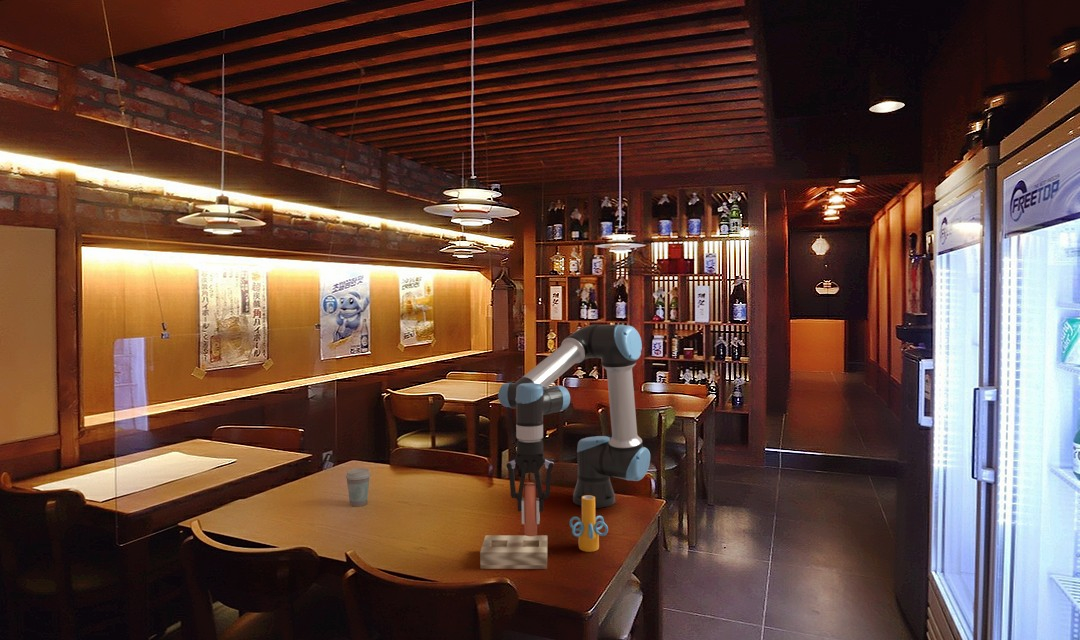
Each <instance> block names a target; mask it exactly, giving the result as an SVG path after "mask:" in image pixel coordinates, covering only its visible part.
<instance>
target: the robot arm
mask: <svg viewBox="0 0 1080 640" xmlns="http://www.w3.org/2000/svg"><path fill="white" fill-rule="evenodd" d="M642 349H643V345H642V338H641V336H640V333H639V331H638V330H637V329H636V328H635V327H634V326H632V325H625V324H596V323H595V324H589V325H587V326H585V327H581V328H580V329H578V330H576V331H574V332H572V333H570V334H569V336H567V337H566V338H564V339H563V340H562V342H561V344H560V346H559V347H558V348H556V349H555V350H554V351H553V352H552V353H551V354H549V355H548V356H546V357H545V358H544V359H543V360H542V361H540V362H539V363H538V364H536V366H534V367H533V368H532V369H531V370H529V371H528V372H527V373H525V374H524V375H523V376H522V377H521V378H519V379H518V380H516V381H515V382H505V383H503V384H502V385H501V386H500V388H499V390H498V393H497V395H498V401H499V403H500V405H501V406H503V407H505V408H510V409H516V410H515V416H516V421H515V422H516V424H515V427H516V428H515V430H516V432H515V437H516V439H517V440H516V442H515V443H516V445H515V446H516V456H515V458H514V459H512V460H508V461H507V462H506V468H507V471H508V476H509V488H510V498H512V499H515V500H516V501H517V511H518V512H521V525H525V512H524V497H523V495H524V484H525V481H526V476H527V475H526V474H529V473H531V474H533V475H534V479H535V483H536V486H537V500H536V516H537V525H540V521H541V518H540V512H543V511H544V500H545V499H550V495H551V493H550V492H551V481H552V480H551V479H552V477H551V476H552V471H553V469H554V461H553V460H551V461H550V460H547V459H546V457H545V455H544V440H543V438H544V415H545V416H546V415H550V414H554V413H559V412H560V413H561V412H562V411H565V410H566V409H568V407H569V405H570V403H571V394H570V392H569V390H568V388H566V387H565V386H563V385H553V386H550V385H552V384H553V383H555V381H556V380H557V379H559V378H560V377H562V375H563V374H565V372H567V371H569V369H570V368H572V366H574V365H575V364H580V363H582V362H583V361H584V360H587V359H601V367H603V369H605V371H606V377H607V379H606V380H607V389H608V390H607V391H608V401H609V403H608V404H609V413H610V414H609V415H610V425H611V437H609V436H606V435H596V436H588V437H585V438H581V439H580V440H579V441H577V449H576V453H577V456H576V457H577V481H576V485H575V487H574V490H573V493H572V501H573V503H574V504H575V505H577V506H580V507H582V496H586V495H591V496H594V497H595V509H596V508H597V509H599V508H606V507H611V506H612V505H614V504H615V503H616V495H615V491H614V488H613V485H612V482H611V477H612V478H617V479H621V480H626V481H628V482H629V481H633V482H639V481H641V480H642V479H643V478H644V477H645V476H646V475H647V473H648V470H649V468H650V465H651V464H650V462H651V453H650V450H649V449H648V448H647V447H645V446H644V445H643V439H642V438H641V437H640V436H639V435H638V426H637V425H638V424H637V416H636V415H637V414H636V413H637V412H636V401H635V389H634V378H633V377H634V375H633V368H634V367H635V366H636V365H637V360H638V359H640V357H641V355H642ZM543 465H544V466H545V467H544V468H545V469H546V475H545V477H546V478H545V492H544V491H543V487H542V481H541V476H540V470H541V469H542V467H543ZM516 466H518V468H519V470H520V471H521V474H520V480H519V485H518V486H519V487H518V491H517V492H516V480H515V468H516Z"/></svg>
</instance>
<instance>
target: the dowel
mask: <svg viewBox="0 0 1080 640" xmlns="http://www.w3.org/2000/svg"><path fill="white" fill-rule="evenodd" d="M523 498H524V512H525V524H524V535H526V536H536V535H538V524H537V516H536V500H537V498H538V491H537V486H536V482H526V483H525V482H524V488H523Z"/></svg>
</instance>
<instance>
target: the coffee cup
mask: <svg viewBox="0 0 1080 640" xmlns="http://www.w3.org/2000/svg"><path fill="white" fill-rule="evenodd" d="M370 477H371V472H370V470H369V469H368V468H365V467H364V468H363V467H362V468H359V467H358V468H353V469H349V470H348V471H347V472H346V475H345V479H346V483H347V491H348V498H349V506H350V507H354V506H355V507H356V508H357V507H358V506H359V507H364V506H366V505H367V504H368V498H369V496H368V495H369V486H370ZM363 505H364V506H363Z"/></svg>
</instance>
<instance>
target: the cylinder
mask: <svg viewBox="0 0 1080 640" xmlns="http://www.w3.org/2000/svg"><path fill="white" fill-rule="evenodd" d="M598 519H600V520H599V521H598ZM604 519H605V518H604V517H603V516H602V515H597V516H596V508H595V497H594V496H591V495H586V496H582V506H581V518H580V517H578V516H572V517H571V518H570V519H569V527H570V528H571V533H572V535H573V536H574V537H576V538H578V550H580V551H582V552H586V553H593V552H596V551H598V550H599V548H600V536H601V537H604V536H606V535H607V534H608V532H609V526H608V524H606V523H605V520H604ZM574 520H577V522H575V523H574V524H573V522H574ZM578 525H579V527H578V528H576V527H577V526H578ZM598 525H599V526H598ZM603 527H604V528H605V529H604V532H600V530H601V529H603ZM577 532H579V533H577Z"/></svg>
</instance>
